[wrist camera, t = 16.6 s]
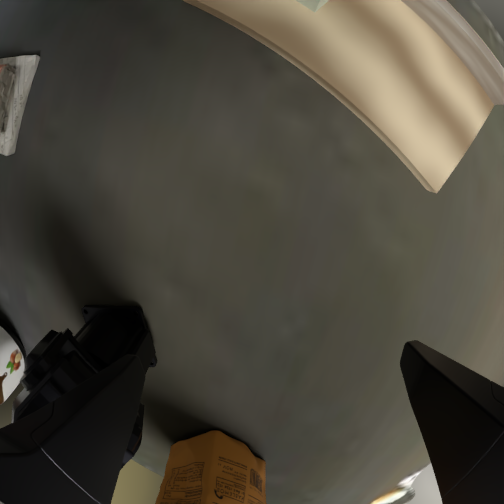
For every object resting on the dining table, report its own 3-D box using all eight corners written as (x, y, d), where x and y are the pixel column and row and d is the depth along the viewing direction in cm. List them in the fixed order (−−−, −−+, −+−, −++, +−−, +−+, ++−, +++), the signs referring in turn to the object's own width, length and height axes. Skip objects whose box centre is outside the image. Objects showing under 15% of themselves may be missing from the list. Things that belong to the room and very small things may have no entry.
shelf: (426, 190, 19) (459, 200, 15) (182, 0, 15) (165, -28, 10) (489, 96, 16) (521, 93, 11) (278, -73, 11) (280, -102, 7)
